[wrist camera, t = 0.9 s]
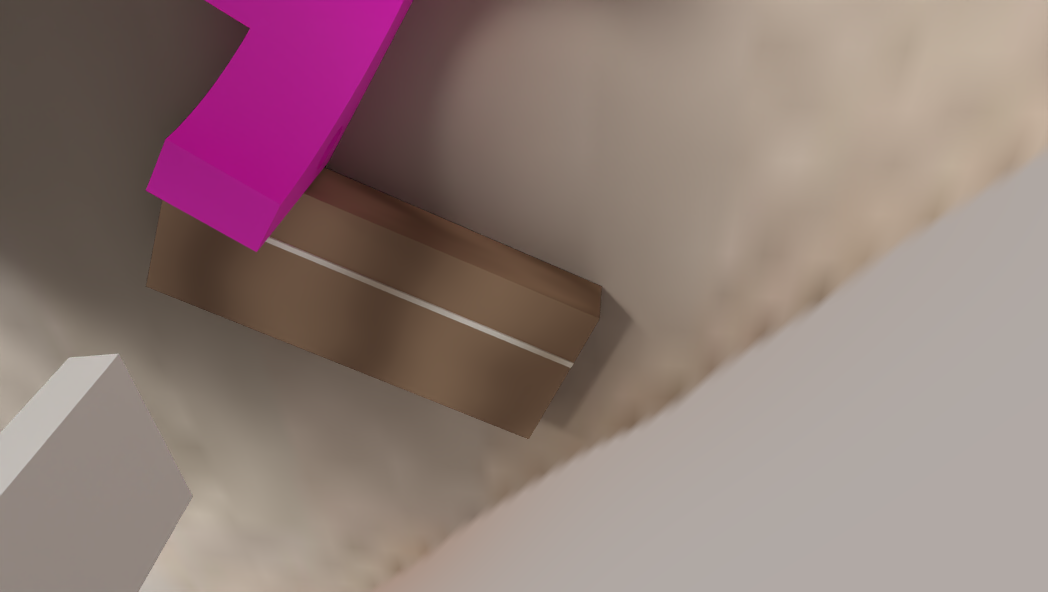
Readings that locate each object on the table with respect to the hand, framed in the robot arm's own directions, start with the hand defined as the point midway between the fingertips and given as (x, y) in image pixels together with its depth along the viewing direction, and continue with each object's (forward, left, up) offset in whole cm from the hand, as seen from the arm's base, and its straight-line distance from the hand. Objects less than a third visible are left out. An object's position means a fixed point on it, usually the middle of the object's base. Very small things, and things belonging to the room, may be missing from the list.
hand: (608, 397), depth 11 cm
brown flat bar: (-5, -13, -20) cm, 25 cm away
